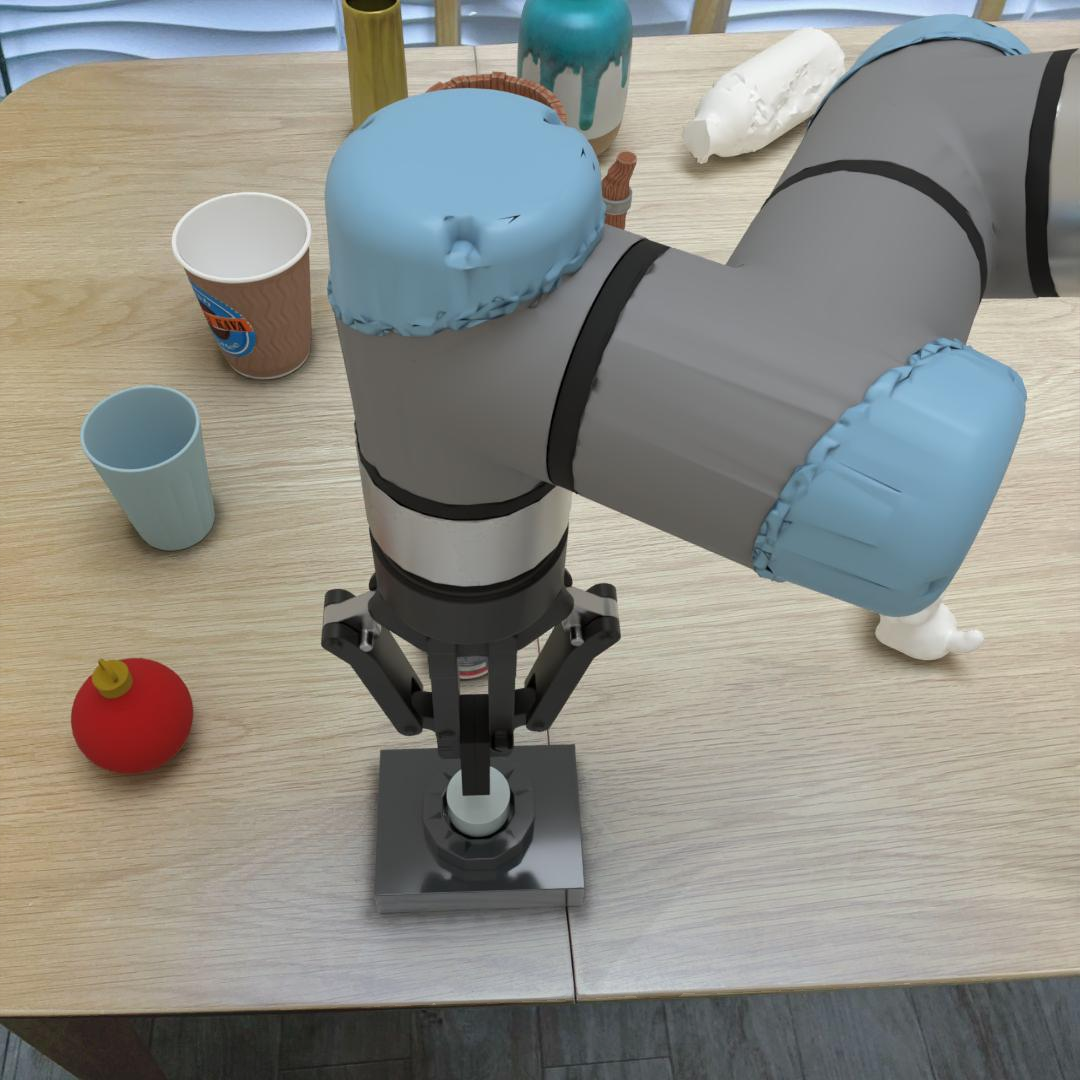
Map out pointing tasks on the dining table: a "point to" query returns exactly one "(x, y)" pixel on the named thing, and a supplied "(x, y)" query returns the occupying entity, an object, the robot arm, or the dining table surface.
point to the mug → (618, 174)
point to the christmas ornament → (131, 715)
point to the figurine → (928, 633)
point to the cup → (153, 463)
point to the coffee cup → (251, 278)
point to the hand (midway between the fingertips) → (475, 771)
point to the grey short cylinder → (479, 806)
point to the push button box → (478, 862)
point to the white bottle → (765, 95)
